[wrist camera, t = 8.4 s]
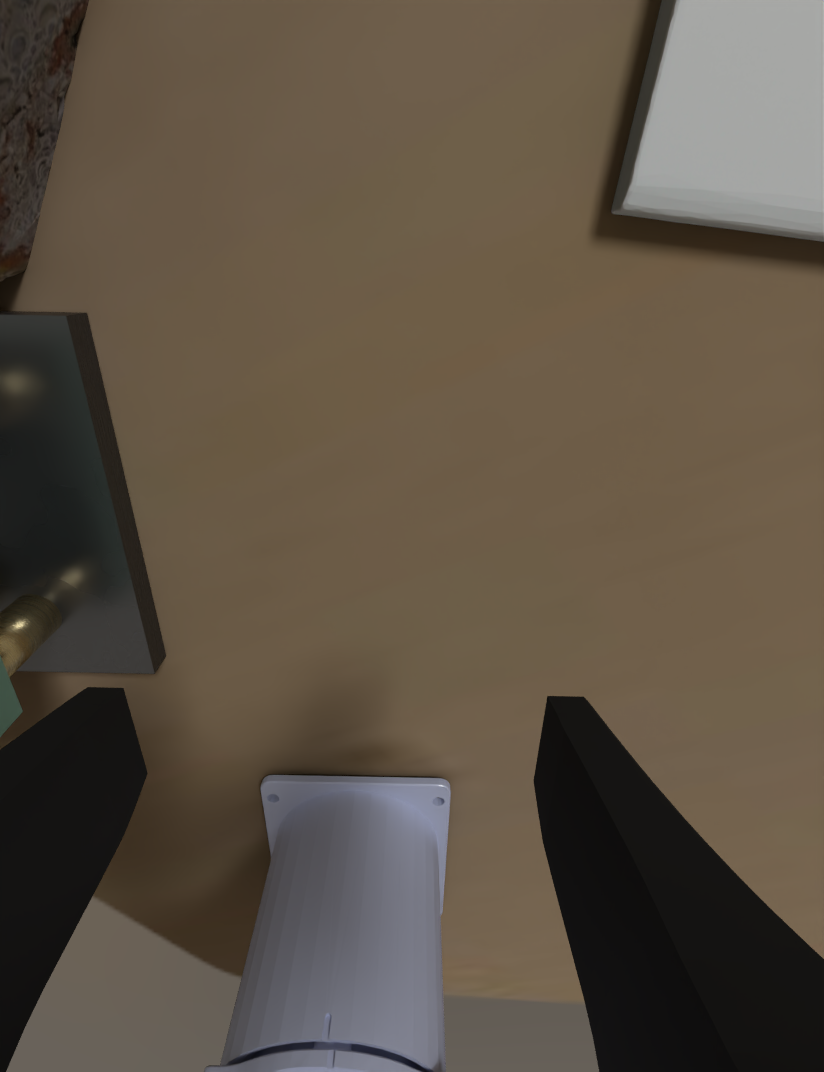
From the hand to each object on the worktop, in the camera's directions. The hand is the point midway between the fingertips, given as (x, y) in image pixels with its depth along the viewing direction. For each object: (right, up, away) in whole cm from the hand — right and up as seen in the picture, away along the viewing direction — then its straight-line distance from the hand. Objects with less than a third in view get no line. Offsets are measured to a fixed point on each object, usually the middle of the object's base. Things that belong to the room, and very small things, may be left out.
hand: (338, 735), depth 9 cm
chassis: (-13, +4, +8) cm, 16 cm away
